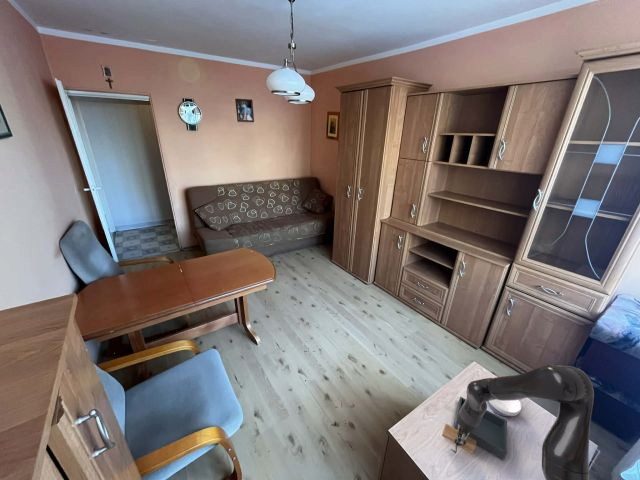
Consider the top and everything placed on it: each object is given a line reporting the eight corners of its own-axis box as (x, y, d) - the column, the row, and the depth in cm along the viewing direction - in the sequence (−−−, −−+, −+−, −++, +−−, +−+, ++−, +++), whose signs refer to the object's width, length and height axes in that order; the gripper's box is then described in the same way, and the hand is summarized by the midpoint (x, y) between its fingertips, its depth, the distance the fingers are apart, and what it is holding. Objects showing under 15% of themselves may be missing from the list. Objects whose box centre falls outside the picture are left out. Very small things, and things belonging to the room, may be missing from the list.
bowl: (485, 387, 141) (490, 378, 138) (517, 406, 133) (523, 397, 129) (479, 407, 131) (484, 398, 128) (513, 429, 123) (519, 419, 119)
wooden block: (470, 463, 107) (474, 456, 104) (439, 444, 112) (442, 437, 110) (472, 447, 112) (476, 441, 109) (442, 430, 117) (445, 423, 115)
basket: (501, 460, 111) (506, 453, 109) (452, 431, 121) (455, 424, 118) (502, 427, 123) (506, 420, 121) (457, 403, 132) (460, 396, 130)
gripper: (478, 438, 98) (465, 462, 106) (481, 407, 109) (469, 431, 117) (457, 426, 102) (445, 450, 109) (462, 397, 112) (451, 420, 120)
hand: (457, 440), depth 113 cm, fingers closed on wooden block, 3 cm apart
